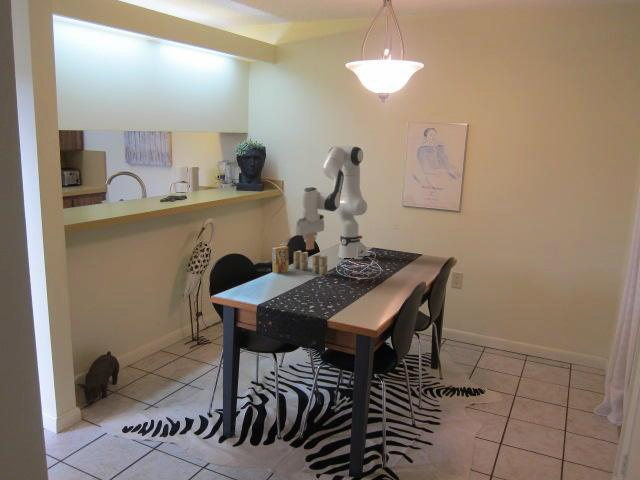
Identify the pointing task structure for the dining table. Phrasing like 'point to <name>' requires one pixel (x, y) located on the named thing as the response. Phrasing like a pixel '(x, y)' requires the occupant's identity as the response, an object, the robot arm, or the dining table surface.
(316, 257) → the tile
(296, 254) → the tile
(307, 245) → the tile
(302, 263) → the tile
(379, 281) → the dining table surface
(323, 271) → the tile
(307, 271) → the slate board
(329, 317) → the dining table surface
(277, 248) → the candy box
